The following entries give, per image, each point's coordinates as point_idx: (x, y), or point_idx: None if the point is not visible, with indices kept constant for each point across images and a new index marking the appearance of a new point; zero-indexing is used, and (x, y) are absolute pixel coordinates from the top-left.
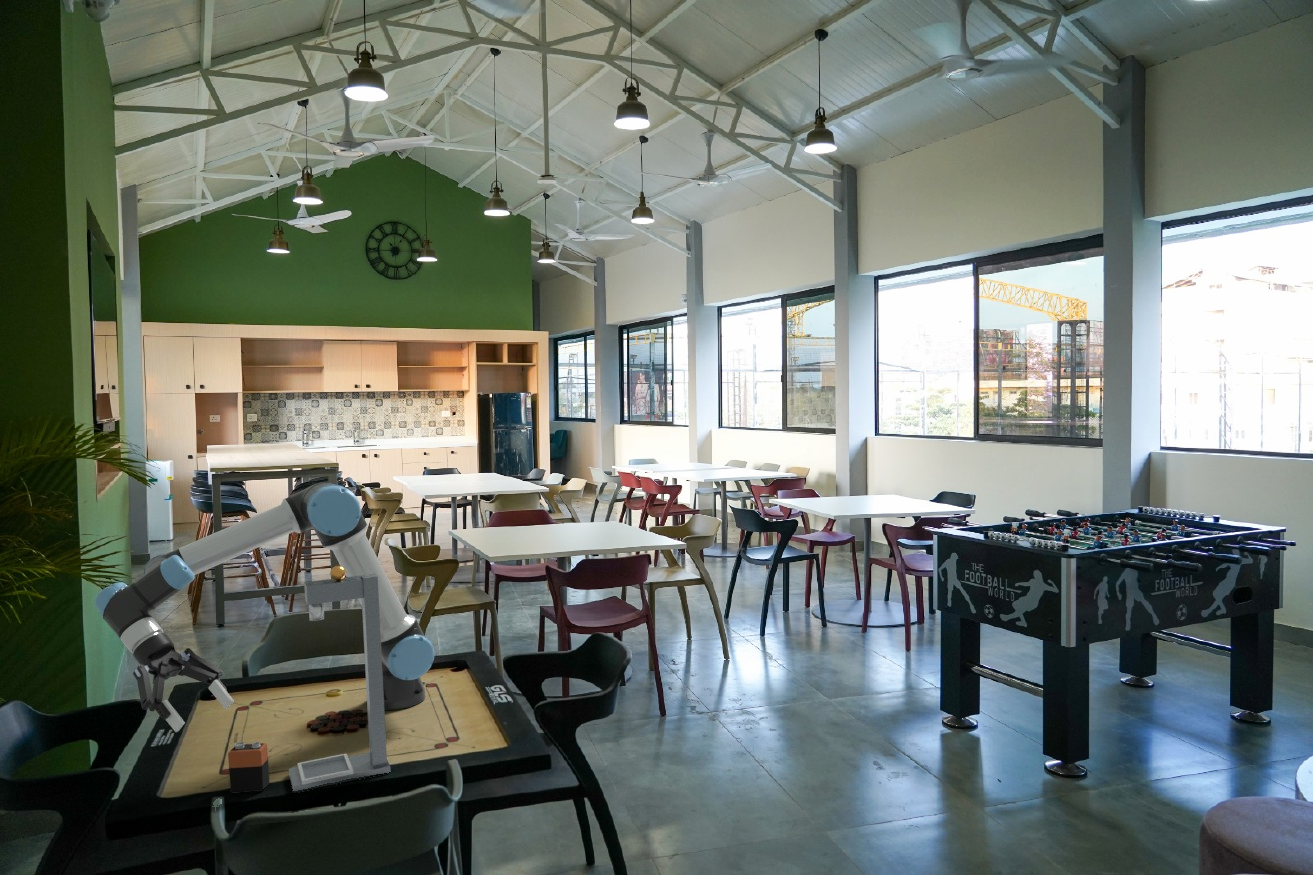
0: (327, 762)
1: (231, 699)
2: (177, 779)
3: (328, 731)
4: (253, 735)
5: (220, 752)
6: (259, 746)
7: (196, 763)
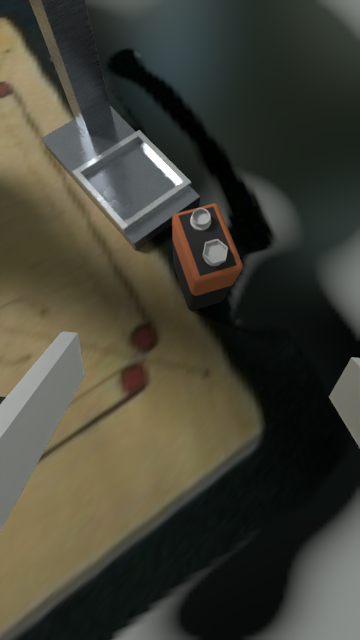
0: (101, 194)
1: (63, 339)
2: (186, 462)
3: None
4: None
5: (38, 474)
6: (201, 211)
7: (103, 486)
